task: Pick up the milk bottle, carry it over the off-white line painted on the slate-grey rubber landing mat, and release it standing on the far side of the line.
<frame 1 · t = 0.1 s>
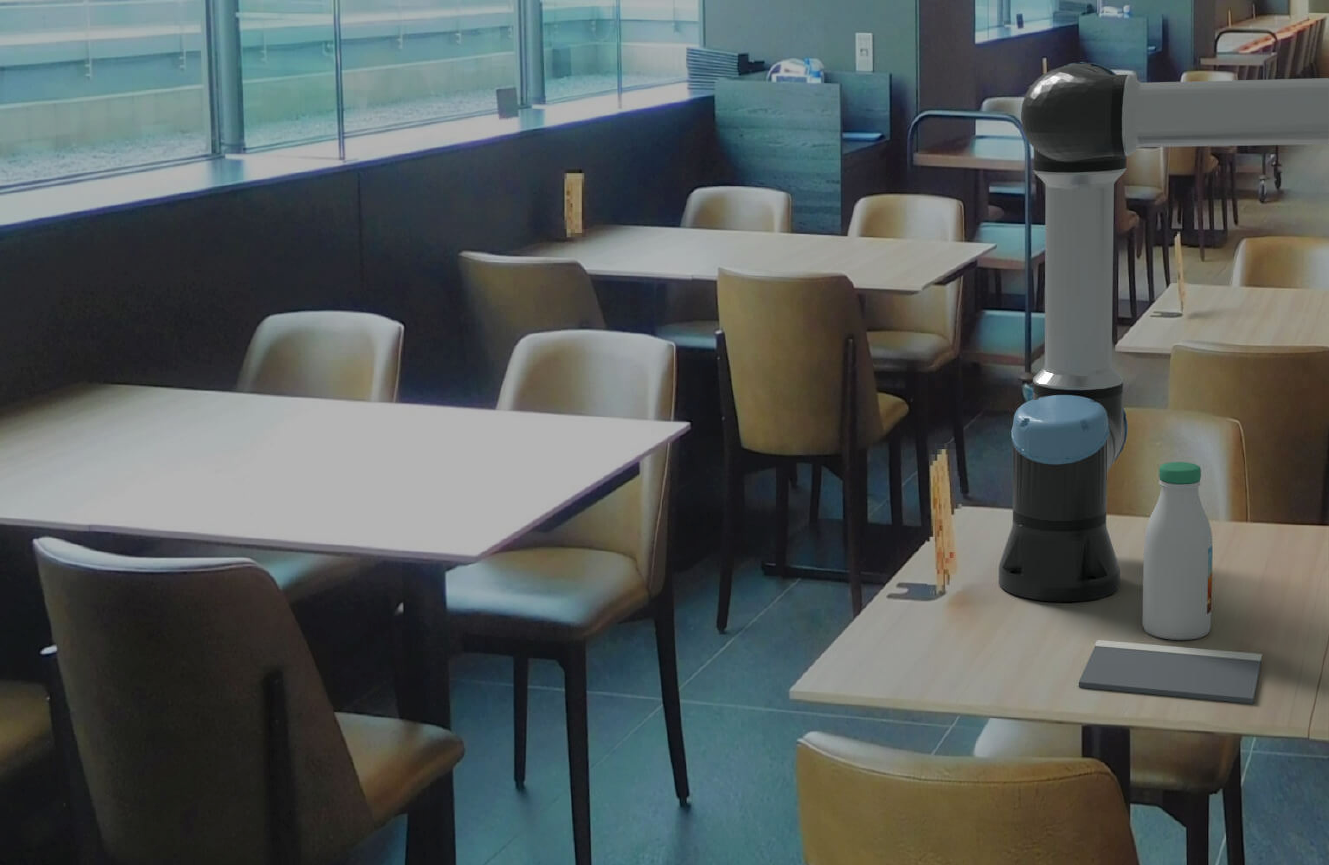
landing mat: (1171, 674, 195), on the table
milk bottle: (1176, 632, 209), on the table
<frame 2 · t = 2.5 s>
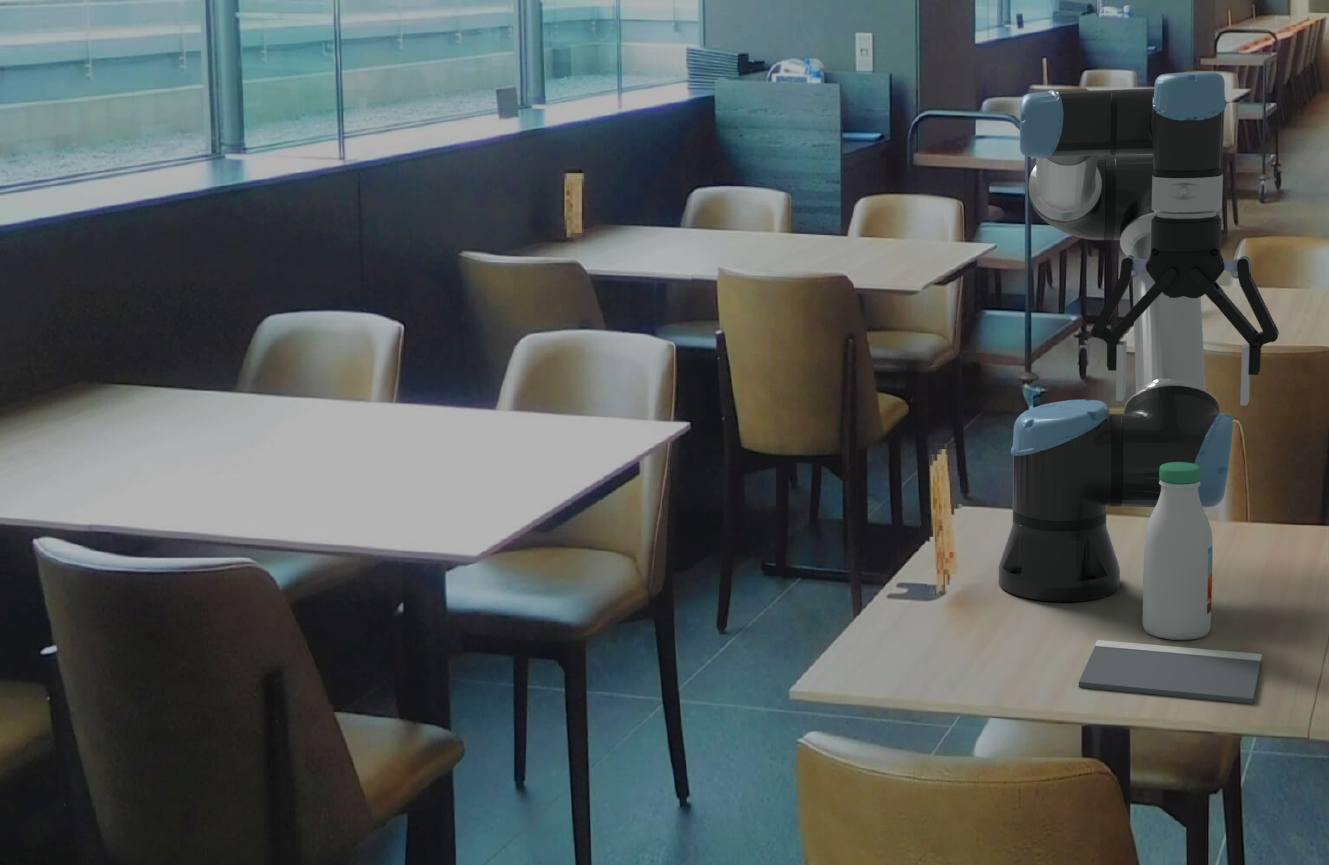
hand: (1181, 401, 203), 28 cm above the table, fingers open, 13 cm apart
nothing on the table moved.
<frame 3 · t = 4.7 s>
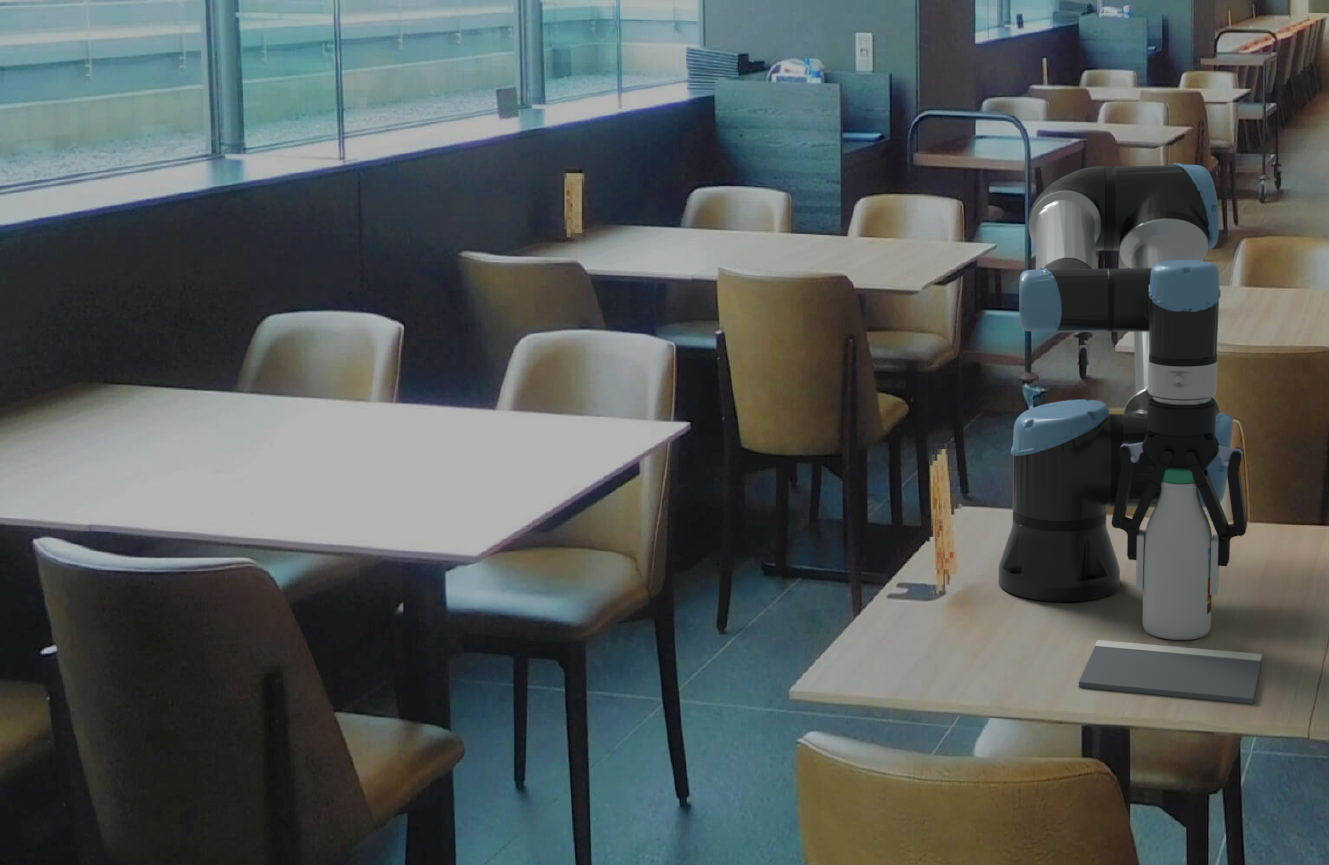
hand: (1177, 588, 208), 5 cm above the table, fingers closed on milk bottle, 8 cm apart
milk bottle: (1176, 632, 209), on the table, touching gripper
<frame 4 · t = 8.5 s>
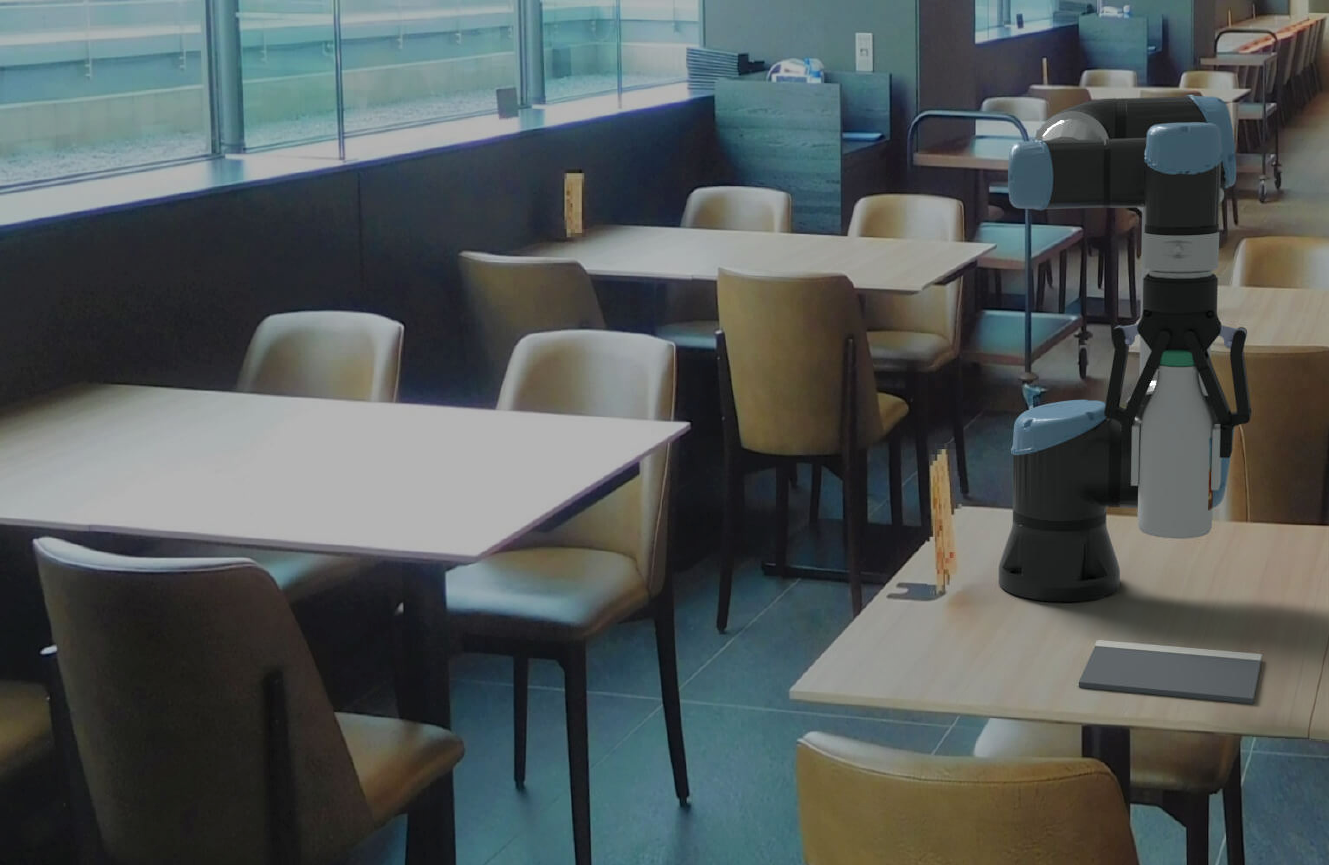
hand: (1175, 484, 191), 21 cm above the table, fingers closed on milk bottle, 7 cm apart
milk bottle: (1174, 532, 192), point 16 cm above the table, touching gripper
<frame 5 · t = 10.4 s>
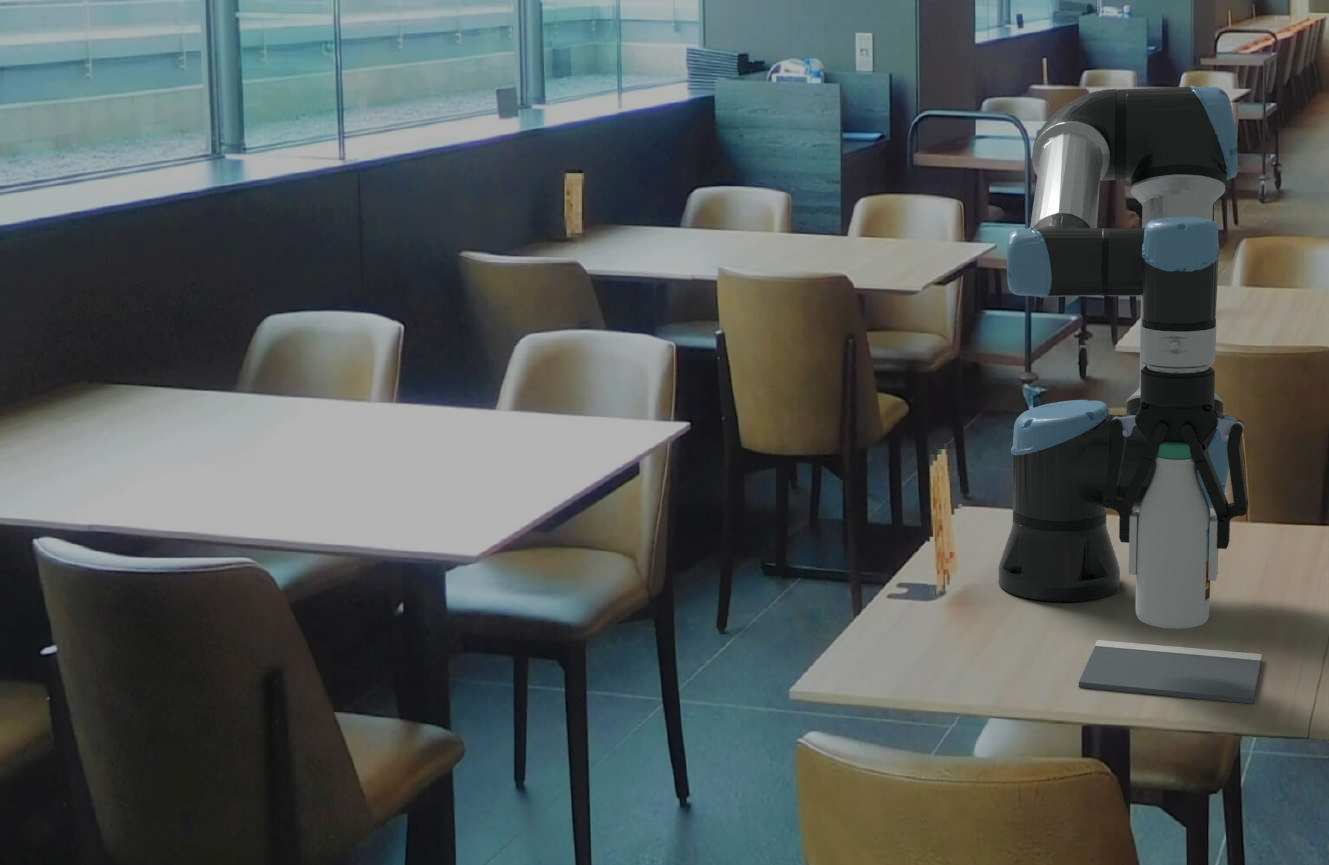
hand: (1173, 573, 192), 12 cm above the table, fingers closed on milk bottle, 7 cm apart
milk bottle: (1171, 620, 193), point 6 cm above the table, touching gripper
when the fingers open (7 cm above the table, at t = 12.1 s): milk bottle drops 1 cm, resting on landing mat.
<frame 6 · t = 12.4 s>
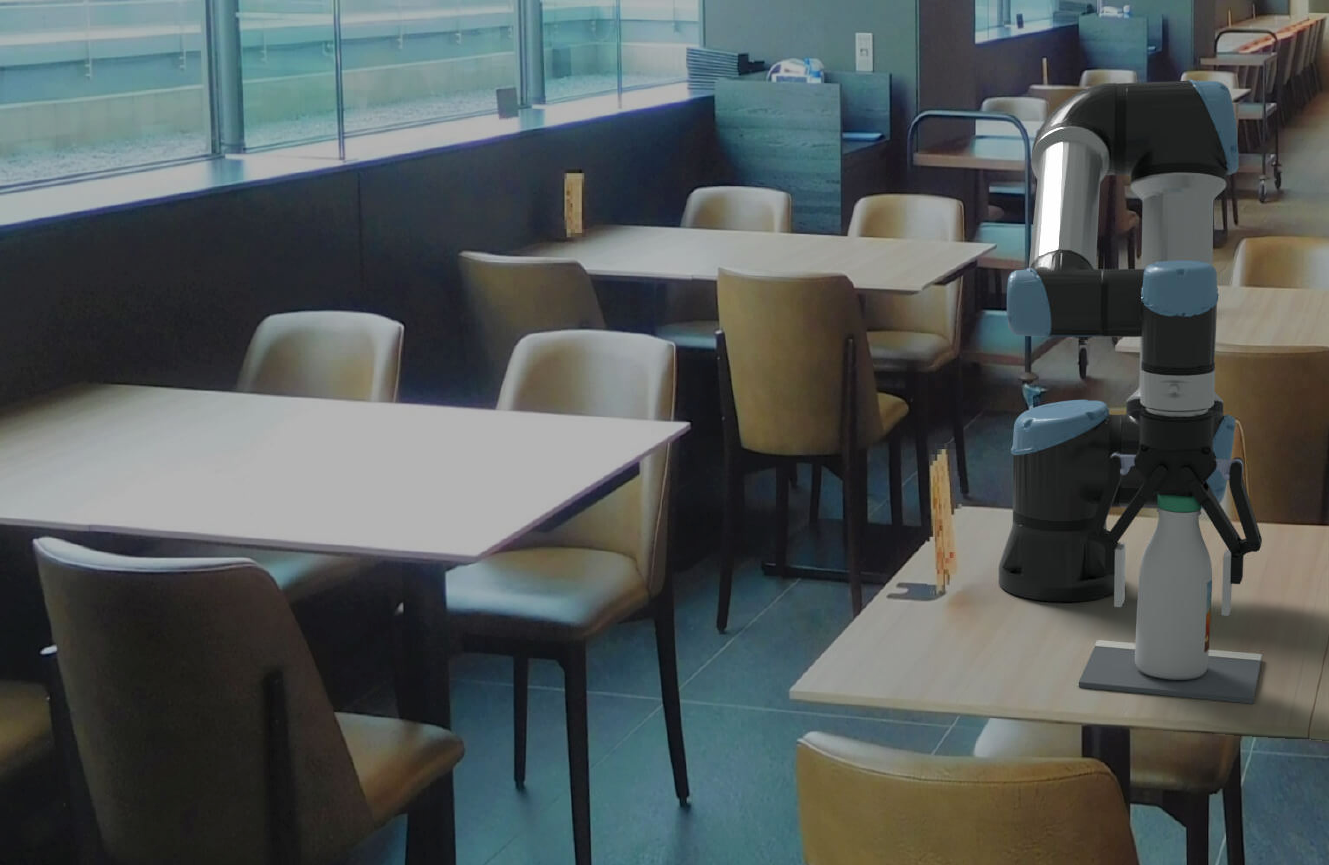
hand: (1172, 607, 193), 8 cm above the table, fingers open, 10 cm apart
milk bottle: (1170, 671, 195), point 1 cm above the table, touching landing mat
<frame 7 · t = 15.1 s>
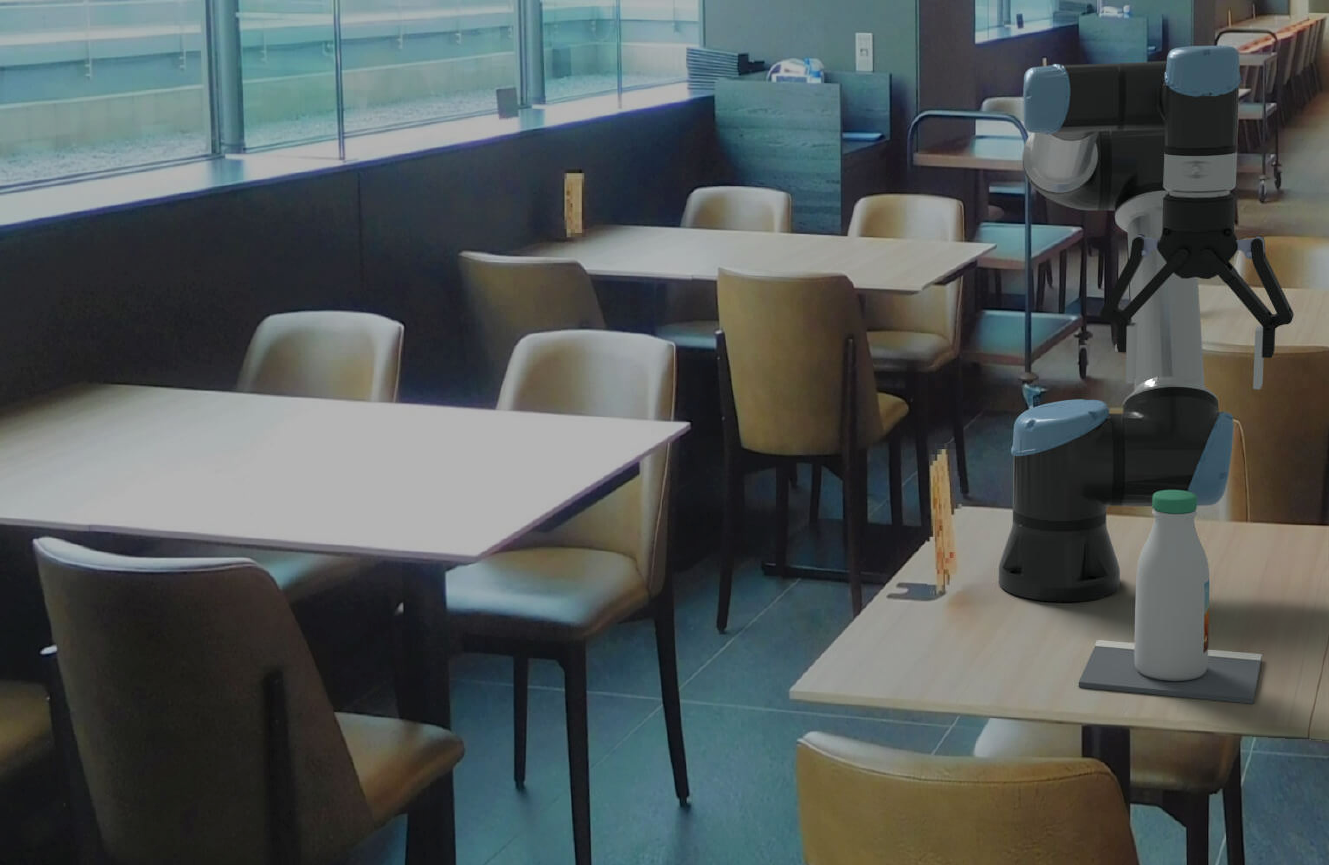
hand: (1193, 384, 198), 30 cm above the table, fingers open, 13 cm apart
nothing on the table moved.
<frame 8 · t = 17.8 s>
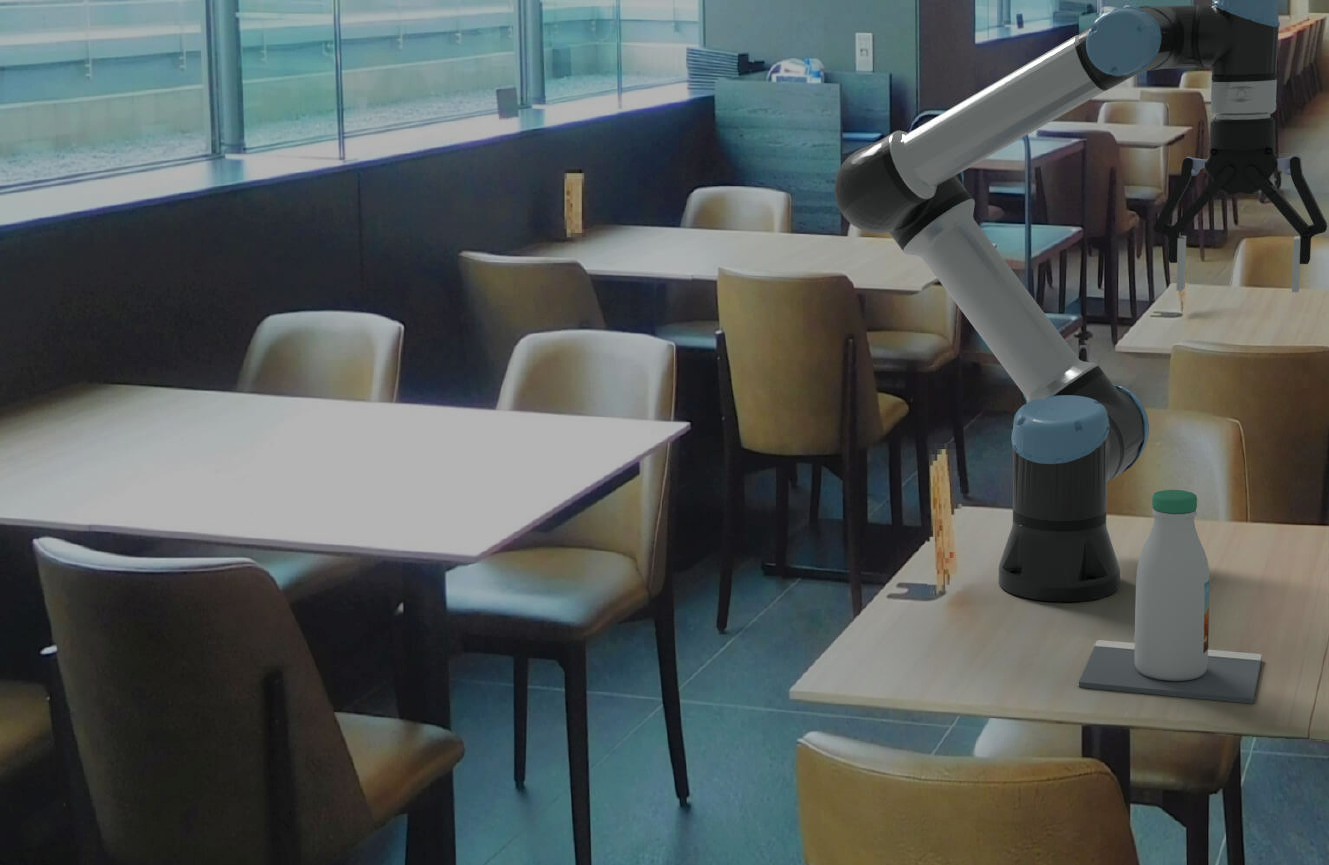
hand: (1237, 290, 221), 37 cm above the table, fingers open, 13 cm apart
nothing on the table moved.
at the end: milk bottle inside the target area (0.2 cm from its centre), resting on landing mat; milk bottle tilted 0°; the gripper is holding nothing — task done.
